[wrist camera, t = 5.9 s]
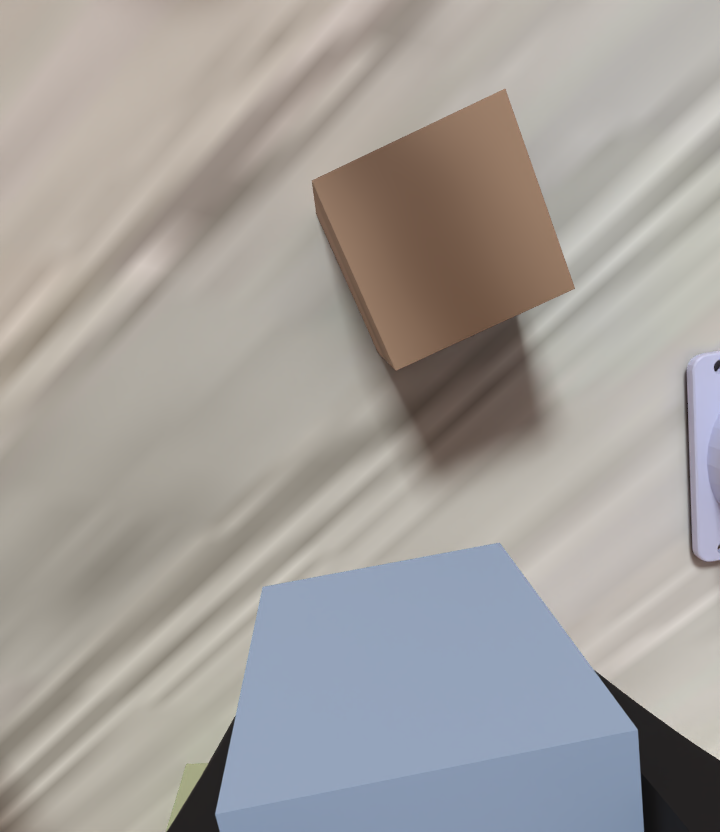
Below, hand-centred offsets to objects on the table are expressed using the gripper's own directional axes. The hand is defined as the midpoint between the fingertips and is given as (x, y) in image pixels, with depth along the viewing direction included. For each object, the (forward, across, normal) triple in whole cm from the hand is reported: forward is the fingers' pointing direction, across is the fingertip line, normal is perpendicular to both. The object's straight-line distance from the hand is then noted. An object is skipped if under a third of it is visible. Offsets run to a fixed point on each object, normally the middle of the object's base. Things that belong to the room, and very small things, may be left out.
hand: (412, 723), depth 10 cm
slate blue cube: (+2, 0, 0) cm, 2 cm away
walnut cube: (+10, -3, -9) cm, 14 cm away
